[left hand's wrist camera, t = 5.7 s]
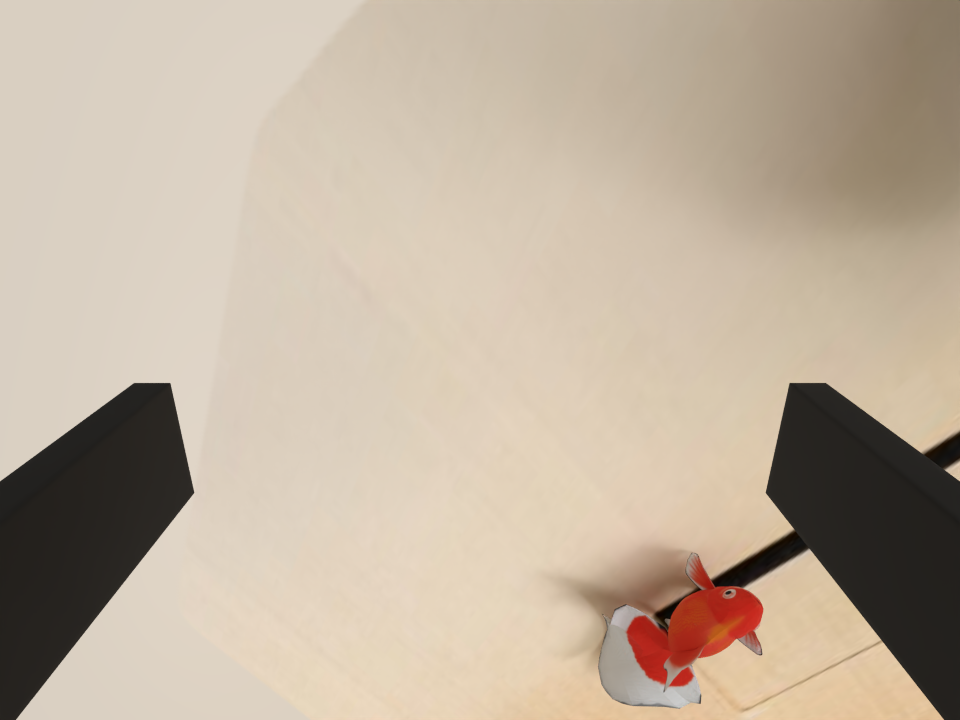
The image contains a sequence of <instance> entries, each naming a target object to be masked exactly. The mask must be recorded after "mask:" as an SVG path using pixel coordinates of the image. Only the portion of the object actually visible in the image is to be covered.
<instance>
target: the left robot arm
mask: <svg viewBox="0 0 960 720" xmlns="http://www.w3.org/2000/svg"><path fill="white" fill-rule="evenodd" d="M193 494H194V490H193V485H192V480H191V476H190V471H189V467H188V462H187V457H186V453H185V448H184V444H183V439H182V434H181V430H180V425H179V421H178V416H177V412H176V407H175V402H174V398H173V393H172V389H171V384H170V383H134V384H132V385H131V386H130V387H128V388H127V389H126V390H124V391H123V392H121V393H120V394H119V395H117V396H116V397H115V398H113V399H112V400H111V401H109V402H108V403H106V404H105V405H104V406H102V407H101V408H100V409H98V410H97V411H96V412H94V413H93V414H91V415H90V416H89V417H87V418H86V419H85V420H83V421H82V422H81V423H79V424H78V425H77V426H75V427H74V428H72V429H71V430H70V431H68V432H67V433H66V434H64V435H63V436H61V437H60V438H59V439H57V440H56V441H55V442H53V443H52V444H51V445H49V446H48V447H47V448H45V449H44V450H42V451H41V452H40V453H38V454H37V455H36V456H34V457H33V458H31V459H30V460H29V461H27V462H26V463H25V464H23V465H22V466H21V467H19V468H18V469H16V470H15V471H14V472H12V473H11V474H10V475H8V476H7V477H6V478H4V479H3V480H1V481H0V720H16V719H17V718H18V716H19V715H20V714H21V712H22V711H23V710H24V709H25V707H26V706H27V705H28V704H29V702H30V701H31V700H32V699H33V697H34V696H35V695H36V693H37V692H38V691H39V690H40V688H41V687H42V686H43V685H44V683H45V682H46V681H47V679H48V678H49V677H50V676H51V674H52V673H53V672H54V670H55V669H56V668H57V667H58V665H59V664H60V663H61V662H62V660H63V659H64V658H65V657H66V655H67V654H68V653H69V651H70V650H71V649H72V648H73V646H74V645H75V644H76V642H77V641H78V640H79V639H80V637H81V636H82V635H83V634H84V632H85V631H86V630H87V629H88V627H89V626H90V625H91V623H92V622H93V621H94V620H95V618H96V617H97V616H98V615H99V613H100V612H101V611H102V609H103V608H104V607H105V606H106V604H107V603H108V602H109V600H110V599H111V598H112V597H113V595H114V594H115V593H116V592H117V590H118V589H119V588H120V587H121V585H122V584H123V583H124V581H125V580H126V579H127V578H128V576H129V575H130V574H131V573H132V571H133V570H134V569H135V568H136V566H137V565H138V564H139V562H140V561H141V560H142V559H143V557H144V556H145V555H146V554H147V552H148V551H149V550H150V548H151V547H152V546H153V545H154V543H155V542H156V541H157V540H158V538H159V537H160V536H161V534H162V533H163V532H164V531H165V529H166V528H167V527H168V526H169V524H170V523H171V522H172V520H173V519H174V518H175V517H176V515H177V514H178V513H179V512H180V510H181V509H182V508H183V506H184V505H185V504H186V503H187V501H188V500H189V499H190V498H191V496H192V495H193ZM766 494H767V495H768V496H769V498H770V499H771V500H772V501H773V503H774V504H775V505H776V506H777V508H778V509H779V510H780V512H781V513H782V514H783V515H784V517H785V518H786V519H787V520H788V522H789V523H790V524H791V526H792V527H793V528H794V529H795V531H796V532H797V533H798V534H799V536H800V537H801V538H802V540H803V541H804V542H805V543H806V545H807V546H808V547H809V548H810V550H811V551H812V552H813V554H814V555H815V556H816V557H817V559H818V560H819V561H820V562H821V564H822V565H823V566H824V568H825V569H826V570H827V571H828V573H829V574H830V575H831V576H832V578H833V579H834V580H835V582H836V583H837V584H838V585H839V587H840V588H841V589H842V590H843V592H844V593H845V594H846V595H847V597H848V598H849V599H850V601H851V602H852V603H853V604H854V606H855V607H856V608H857V609H858V611H859V612H860V613H861V615H862V616H863V617H864V618H865V620H866V621H867V622H868V623H869V625H870V626H871V627H872V629H873V630H874V631H875V632H876V634H877V635H878V636H879V637H880V639H881V640H882V641H883V643H884V644H885V645H886V646H887V648H888V649H889V650H890V651H891V653H892V654H893V655H894V657H895V658H896V659H897V660H898V662H899V663H900V664H901V665H902V667H903V668H904V669H905V671H906V672H907V673H908V674H909V676H910V677H911V678H912V679H913V681H914V682H915V683H916V685H917V686H918V687H919V688H920V690H921V691H922V692H923V693H924V695H925V696H926V697H927V699H928V700H929V701H930V702H931V704H932V705H933V706H934V707H935V709H936V710H937V711H938V713H939V714H940V715H941V716H942V718H943V719H944V720H960V481H959V480H957V479H956V478H954V477H953V476H952V475H950V474H949V473H948V472H946V471H945V470H944V469H942V468H941V467H939V466H938V465H937V464H935V463H934V462H933V461H931V460H930V459H929V458H927V457H926V456H924V455H923V454H922V453H920V452H919V451H918V450H916V449H915V448H914V447H912V446H911V445H909V444H908V443H907V442H905V441H904V440H903V439H901V438H900V437H899V436H897V435H896V434H894V433H893V432H892V431H890V430H889V429H888V428H886V427H885V426H884V425H882V424H881V423H879V422H878V421H877V420H875V419H874V418H873V417H871V416H870V415H869V414H867V413H866V412H864V411H863V410H862V409H860V408H859V407H858V406H856V405H855V404H854V403H852V402H851V401H849V400H848V399H847V398H845V397H844V396H843V395H841V394H840V393H839V392H837V391H836V390H834V389H833V388H832V387H830V386H829V385H828V384H826V383H790V384H789V389H788V393H787V398H786V402H785V407H784V412H783V416H782V421H781V425H780V430H779V434H778V439H777V444H776V448H775V453H774V457H773V462H772V467H771V471H770V476H769V480H768V485H767V490H766Z"/></svg>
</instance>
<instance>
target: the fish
mask: <svg viewBox="0 0 960 720" xmlns="http://www.w3.org/2000/svg"><path fill="white" fill-rule="evenodd" d="M686 574H687V576H688V577H689V578H690V579H691V581H692V582H693V583H694V584H695V585H696V586H697V587H699V588H700V589H701V591H698V592H696V593H693V594H691V595H689V596H687V597H686V598H684V599H683V600H682V601H681V602H680V604H679V605H678V606H677V608H676V609H675V611H674V612H673V614H672V616H671V619H665V622H666V623H667V624H668V626H669V630H668V632H667V630H666V629H665V627H663V626H662V625H660V624H659V623H658V622H656V621H655V620H654V619H652V618H651V617H649V616H648V615H647V614H645V613H643V612H641V611H639V610H638V609H635V608H633V607H631V606H629V605H626V604H625V605H623V606H621V607H619V608H617V609H615V610H614V614H613V617H612V620H611V619H610V618H609V617H607V616H605V615H603V614H602V615H603V616H604V618H605V620H606V624H607V632H606V635H605V637H604V641H603V645H602V649H601V653H600V657H599V664H598V669H599V674H600V679H601V684H602V686H603V688H604V689H605V691H606V692H607V693H608V694H609V695H610V696H611V698H612V699H614V700H616V701H618V702H620V703H623V704H627V705H631V706H658V707H671V708H678V709H680V708H682V707H683V706H685V705H687V704H689V703H699V704H701V692H700V688H699V684H698V681H697V678H696V676H695V673H694V670H693V668H692V664H693V663H694V662H695V660H696V659H697V658H703V657H708V656H712V655H714V654H717V653H719V652H721V651H722V650H724V649H725V648H727V647H728V646H730V645H731V644H732V643H733V641H734V640H735V639H738V640H739V641H740V642H741V643H743V644H744V645H745V646H747V647H748V648H749V649H750V650H752V651H753V652H755V653H756V654H758V655H762V649H761V645H760V642H759V641H758V639H757V636H756V634H755V632H754V630H756V629H757V628H758V627H759V625H760V621H761V618H762V614H763V606H762V604H761V602H760V600H759V599H758V598H757V597H756V596H755V595H754V594H752V593H751V592H749V591H747V590H745V589H743V588H740V587H734V586H729V587H716V588H715V586H714V585H713V583H712V581H711V580H710V578H709V577H708V575H707V573H706V571H705V569H704V567H703V566H702V563H701V561H700V559H699V556H698V555H697V554H696V553H691V555H690V557H689V558H688V561H687V565H686Z"/></svg>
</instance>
